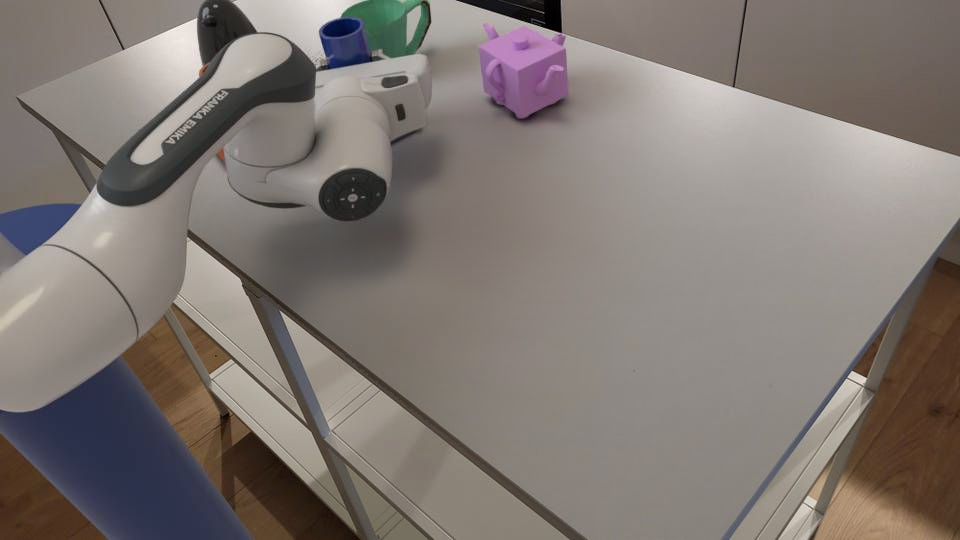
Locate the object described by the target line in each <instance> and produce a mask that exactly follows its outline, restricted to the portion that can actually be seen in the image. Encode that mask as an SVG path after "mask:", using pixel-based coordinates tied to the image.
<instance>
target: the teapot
mask: <svg viewBox="0 0 960 540" xmlns="http://www.w3.org/2000/svg"><path fill="white" fill-rule="evenodd" d="M482 27H483V28H484V30H485V31H486V34H487V36H488V40H489V41H486V42H483V44H480V45H478V47H477V49H478V57H479V62H480V63H479V64H480V70H481V77H482V79H481V80H482V85H483V92H484V93H485V94H487V95H489V96H490V97H491V98H493V100H494V101H495V103H496V104H498V105H501V106H504V107H506V108H507V109H508V110H510V111H511V112H513V113H514V114H515V117H516V118H517V119H526V118H528V117H529V116H530V115H532V114H533V113H536V112H538V111H539V110H542V109H544V108H546V107H548V106H551V105H556V103H557V102H558V101H560V100H562V99H564V98H566V97H568V96H569V81H568V79H569V78H568V61H567V59H568V58H567V49H566V47H564V44H565V41H566V38H567V36H566V35H565V34H563V33H557V34H554V36H553V38H552V39H550V38H548V37H547V36H545V35H543V34H541V33H539V32H538V31H536V30H534V29H533V28H530V27H529V26H527V25H523V26H520V27H518V28H516V29H514V30H511V31H509V32H507V33H505V34H502V35H499V33H498V32H497V30H496V28H495V27H494V26H493V25H492V24H491V23H487V22H485V23H483V24H482Z"/></svg>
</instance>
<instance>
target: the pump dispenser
mask: <svg viewBox="0 0 960 540" xmlns="http://www.w3.org/2000/svg"><path fill="white" fill-rule="evenodd" d="M257 32H258V30H257V28H255V26H254V25H253V23H252V22H251V20H250V19H249V17H248V16H247V15H246V13H244V11H243V10H242V9H241V8H240V7H238V5H236V3H234V2H233V1H232V0H204V1H203V2H202V3H201V4H200V6H199V8H198V12H197V18H196V34H197V35H196V36H197V44H198V52H199V57H200V63H201V66H202V67H203V66H204V65H206V64H207V63H209V62H211V60H212V59H213V58H214V57H215V56H216V54H217V53H218V52H219V51H220V50H221V49H222V48H223V47H224V46H225V45H227V44H228V43H229V42H231V41H232V40H234V39H236V38H238V37H240V36H242V35H246V34H250V33H257Z"/></svg>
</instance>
